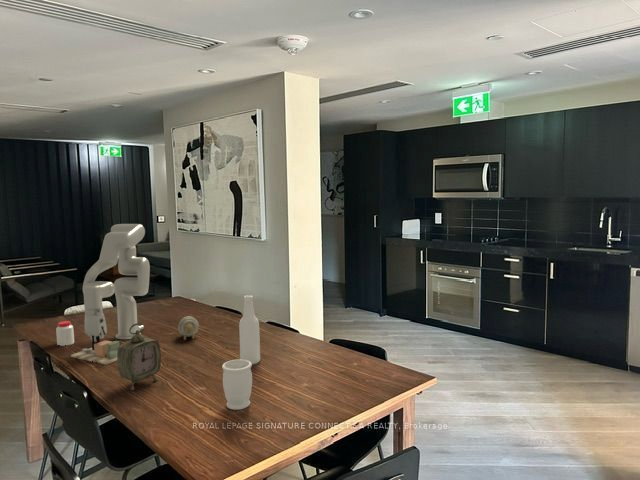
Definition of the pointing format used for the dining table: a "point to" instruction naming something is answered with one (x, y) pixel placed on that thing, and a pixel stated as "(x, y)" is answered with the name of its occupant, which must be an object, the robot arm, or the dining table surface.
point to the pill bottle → (65, 333)
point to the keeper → (101, 348)
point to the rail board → (91, 356)
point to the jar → (237, 383)
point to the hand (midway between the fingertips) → (96, 349)
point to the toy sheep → (188, 326)
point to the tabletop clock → (138, 358)
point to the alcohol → (249, 333)
